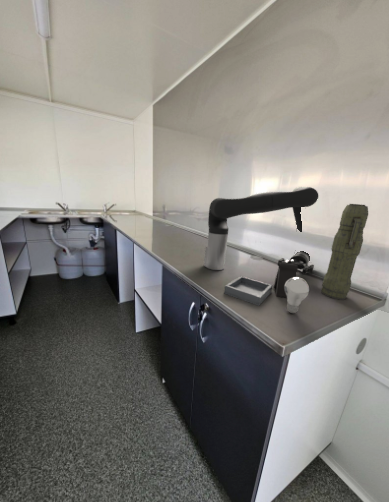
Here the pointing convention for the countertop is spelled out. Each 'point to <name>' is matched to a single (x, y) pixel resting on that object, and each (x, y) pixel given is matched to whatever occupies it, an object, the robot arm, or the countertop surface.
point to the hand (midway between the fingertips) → (292, 269)
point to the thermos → (345, 251)
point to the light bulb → (295, 293)
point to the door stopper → (284, 277)
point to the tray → (248, 290)
